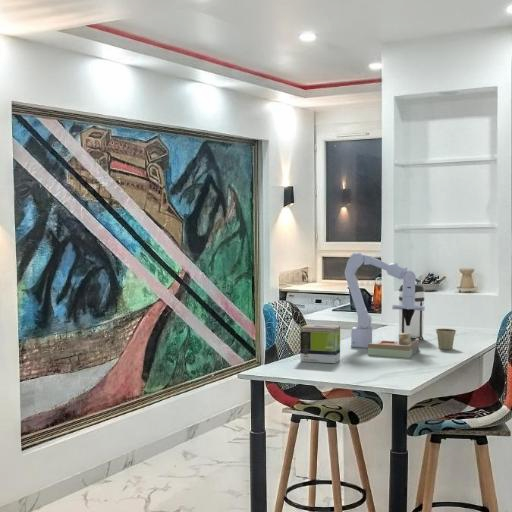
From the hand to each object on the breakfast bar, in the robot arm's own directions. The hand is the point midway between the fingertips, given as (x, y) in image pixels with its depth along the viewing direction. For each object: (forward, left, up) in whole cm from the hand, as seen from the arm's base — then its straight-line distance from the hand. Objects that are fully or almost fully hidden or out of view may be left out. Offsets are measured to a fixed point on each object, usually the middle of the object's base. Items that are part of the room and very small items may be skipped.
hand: (408, 325), depth 367 cm
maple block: (0, -8, -7) cm, 11 cm away
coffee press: (-5, +30, -11) cm, 33 cm away
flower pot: (+16, +5, -11) cm, 20 cm away
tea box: (-28, -50, -11) cm, 58 cm away
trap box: (-4, -15, -10) cm, 18 cm away
